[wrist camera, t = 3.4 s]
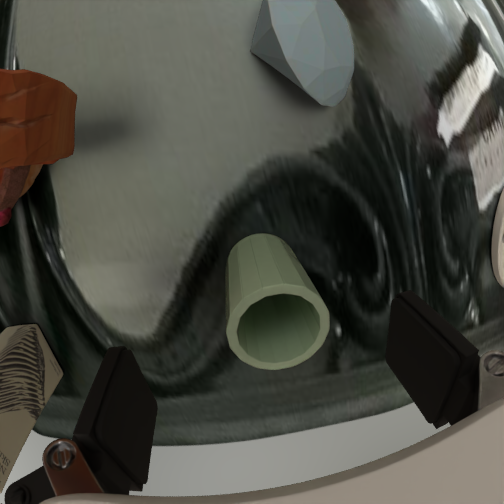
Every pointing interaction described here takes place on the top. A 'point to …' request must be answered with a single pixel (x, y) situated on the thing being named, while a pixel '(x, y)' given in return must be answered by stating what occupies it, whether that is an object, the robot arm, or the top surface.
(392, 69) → the top surface
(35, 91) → the mug
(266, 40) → the gemstone
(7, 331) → the box
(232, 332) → the cup
